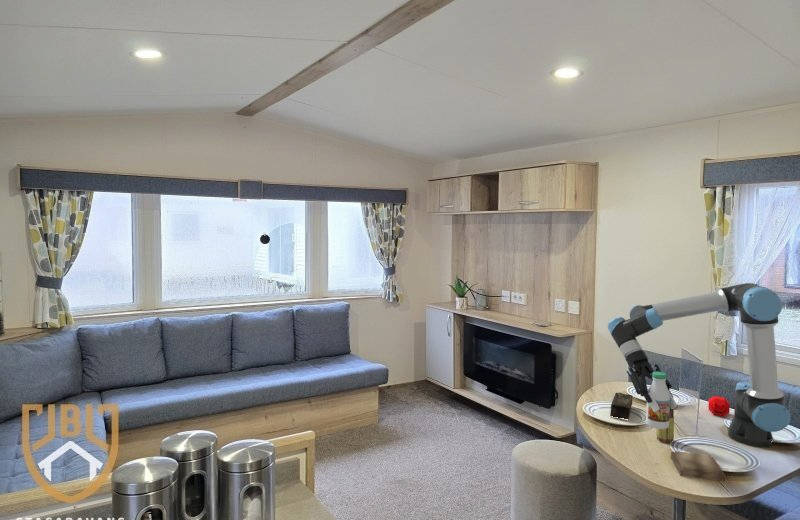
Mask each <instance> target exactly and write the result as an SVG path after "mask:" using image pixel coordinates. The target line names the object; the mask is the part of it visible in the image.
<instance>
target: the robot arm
mask: <svg viewBox="0 0 800 520" xmlns="http://www.w3.org/2000/svg"><path fill="white" fill-rule="evenodd" d="M781 299H782V298H780V296H779V295H778V294H777V293H776V292H775V291H774V290H772V289H770V288H768V287H765V286H761V285H758V284H757V283H753V282H750V283H749V282H747V283H740V284H739V283H738V284H735V285H730V286H726V287H722V288H721V287H720V288H718V290H717V291H713V292H709V293H704V294H700V295H693V296H688V297H684V298H678V299H677V298H676V299H673V300H667V301H663V302H657V303H652V304H647V305H641V304H635V305H634V306H632V307H631V308H630V309H629V318H628V319H626V318H624V317H622V316H618V317H615V318H613V319H611V320H610V321H609V322H608V324H607V329H608V331H609V333H610V336H611V337H612V339H613V340H614V342H615V344H616V345H617V347H618V349H619V350H620V352H621V354H622V356H623V358H625V361H626V364H628V366H629V367H630V368H628V369H627V370H626V374H628V376H629V378H630V381H631V382H632V385H633V388H634V390H635V392H636V394H637V395H640V396H641V397H643V398H644V400H645V401H646V404H647V403H649V404H650V406H651V408H652V410H653V411H654V412H656V411H658V410H659V409H660V408H659V406H658V404H657V403H656V401H655V399H654V397H653V396H652V394H651V392H649V393H648V390H649V388H648V385H647V380H646V377H647V378H648V379H650V380H651V381H652V382H653V378H652V377H653V376H652V373H653V372H662V370H661V369H660V366H659V364H657V363H655V364H654V365H653V364H651V363H650V362H649V358H648V356H647V354H646V353H645V351H644V350H643V346H641V344H640V343H639V340H638V339H637V337H639V336H642V335H644V334H646V333H648V332H651V331H653V330H656V329H658V328H660V327H661V326H662V325H664V321H669V320H676V319H680V318H685V317H691V316H696V315H702V314H709V313H714V312H715V313H716V312H719V311H720V312H721V311H723V312H725V313H728V312H739V316H740V324H742V325H743V326H745V332H746V344H747V358H748V369H749V370H748V373H749V381H739V382H737V383H736V385H735V389H734V390H735V397H734V414H733V415H734V416H733V418H732V421H730V425H729V426H728V429H727V435H728V437H729V438H730V439H732V440H734V441H736V442H738V443H741V444H744V445H748V446H752V447H760V448H763V447H764V448H765V447H770V446H772V445H773V444H772V443H771V441H772V440H773V441H774V437H773V433H775V432H780V431H783V430H784V429H785V428H787V427H788V426H789V424H790V422H791V414H790V411H789V409H788V408H787V407H786V405H785V404H786V403H785V393H784V392H782V391H781V390H780V389H779V381H778V380H779V379H778V367H777V356H776V355H777V353H776V352H777V351H776V340H775V326H776V325H778V324H779V315H780V314H781V312H782V310H783V303H782V300H781ZM665 382H666V386H667V388H668V391H669V394H670V407H671V409H676V408H677V407H678V404H677V402H676V400H675V399H674V395H673V394H672V392H671V388H673V385H672V383H671V382H670V381H669V380H668V378H666V380H665Z"/></svg>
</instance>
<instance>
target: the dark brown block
mask: <svg viewBox="0 0 800 520" xmlns="http://www.w3.org/2000/svg"><path fill="white" fill-rule="evenodd" d="M631 406H633V395H632V394H626V393H622V392H620V391H619V392H615V394H614V396H613V399H612V401H611V404H610V411H609V415H610V416H613V417H618V418H624V419H628V420H629V419H630V416H631V412H632V407H631ZM610 416H609V417H610Z"/></svg>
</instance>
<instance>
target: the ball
mask: <svg viewBox="0 0 800 520" xmlns="http://www.w3.org/2000/svg"><path fill="white" fill-rule="evenodd" d="M730 406H731V405H730V402H729V401H728V400H727V399H726V398H725V397H723V396H716V395H714V396H712V397H710V398H709V399H708V405H707V407H708V411H709V412H710V413H711V414H712V415H713V416H719V417H726V416H727V415H729V414H730V411H731V409H730Z"/></svg>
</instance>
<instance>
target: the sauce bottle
mask: <svg viewBox="0 0 800 520" xmlns="http://www.w3.org/2000/svg"><path fill="white" fill-rule="evenodd" d="M674 409H675V408H674ZM674 409H671V407H670V417H669V427H668V428H666V429H657V428H655V429H656V431H655V433H656V439H657V441H659V442H660V443H665V444H671V442H672V441H673V442H674V436H675V435H674V434H675V416H674V413H675V412H674ZM673 442H672V443H673Z"/></svg>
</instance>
